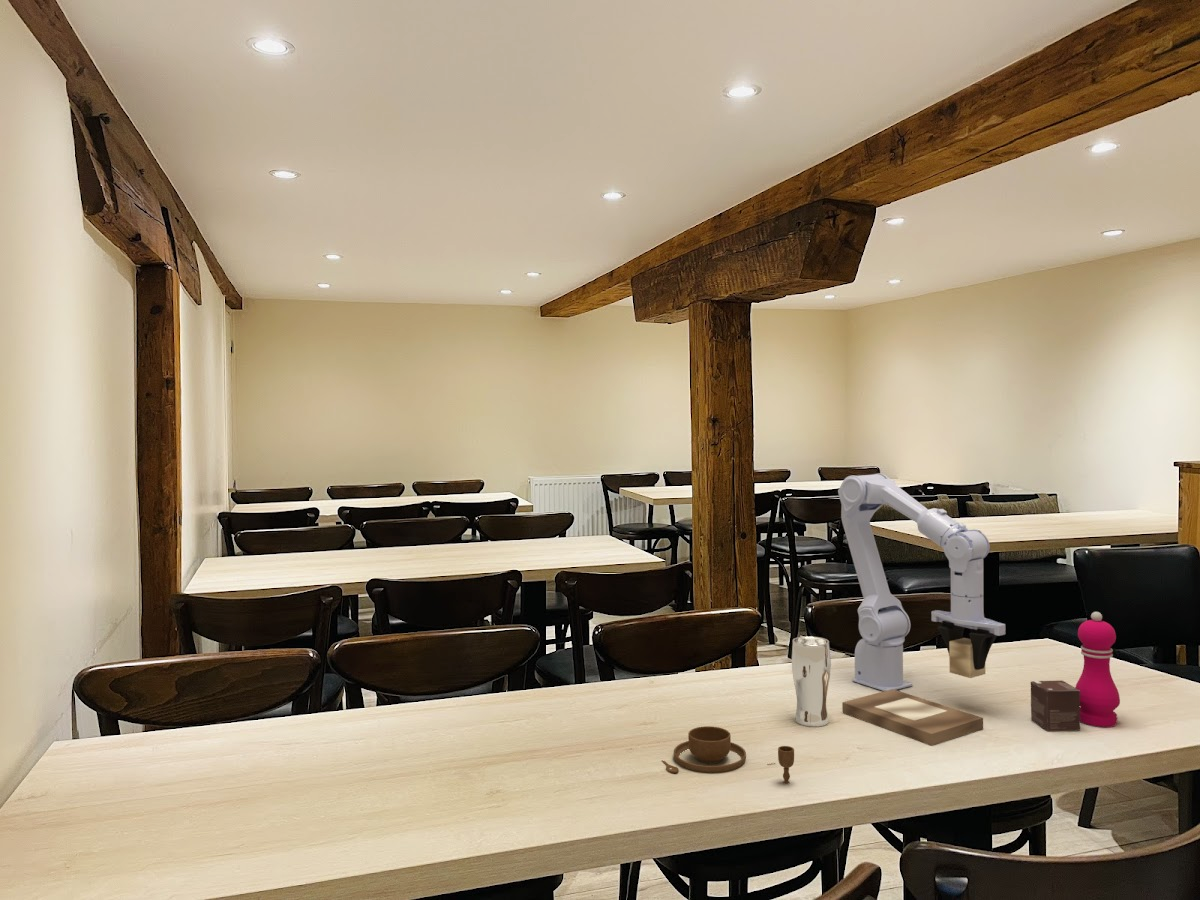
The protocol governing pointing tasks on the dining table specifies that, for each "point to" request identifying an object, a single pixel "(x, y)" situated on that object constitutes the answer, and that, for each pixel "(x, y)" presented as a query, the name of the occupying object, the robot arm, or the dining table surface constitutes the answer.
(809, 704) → the beer glass
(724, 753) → the place setting
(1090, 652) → the pepper mill
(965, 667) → the maple block
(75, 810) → the dining table surface
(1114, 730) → the dining table surface
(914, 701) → the walnut board
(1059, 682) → the box
